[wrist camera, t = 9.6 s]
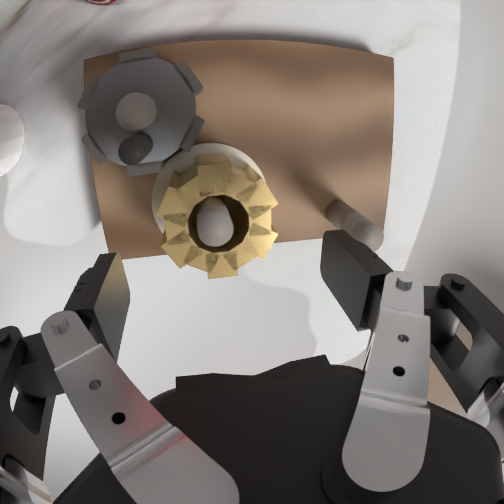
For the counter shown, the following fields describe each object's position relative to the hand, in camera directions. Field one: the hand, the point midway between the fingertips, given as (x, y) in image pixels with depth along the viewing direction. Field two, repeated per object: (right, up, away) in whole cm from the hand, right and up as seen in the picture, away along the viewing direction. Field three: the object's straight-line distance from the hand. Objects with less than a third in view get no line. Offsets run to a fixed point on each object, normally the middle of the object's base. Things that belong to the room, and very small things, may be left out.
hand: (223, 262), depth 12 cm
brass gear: (-1, +4, +8) cm, 9 cm away
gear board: (+1, +8, +8) cm, 12 cm away
